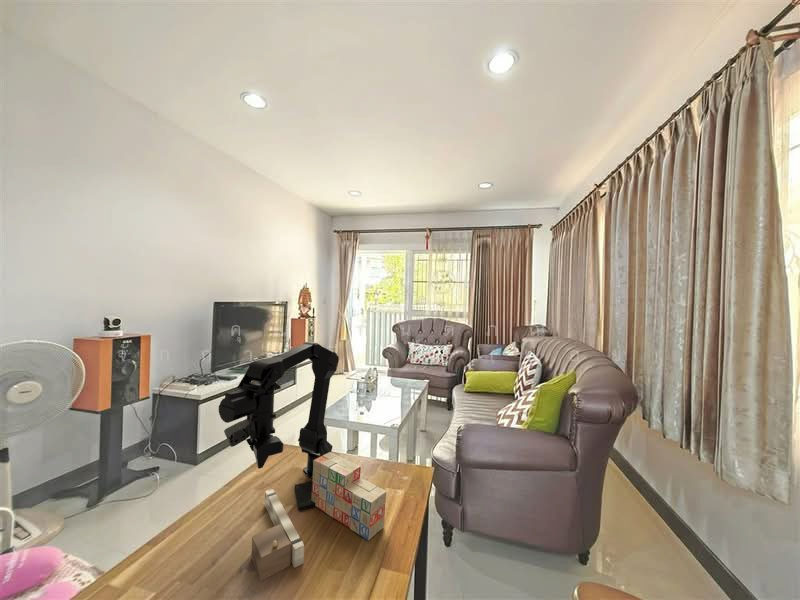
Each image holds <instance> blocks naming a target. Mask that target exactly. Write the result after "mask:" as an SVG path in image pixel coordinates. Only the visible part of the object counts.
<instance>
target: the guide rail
mask: <svg viewBox="0 0 800 600" xmlns="http://www.w3.org/2000/svg"><path fill="white" fill-rule="evenodd" d="M276 492H277V491H275V490H274V489H273V488H270V489H267V490H265V491H264V507H265V509H266V510H267V513H268V515H269V517H270V520H271V521H272V523H273V527H274V526H277V525H279V524H280V526H281V527H282V529H283V531H284V533H285V534H286V536H287V538H288V539H289V541H290V543H291V555H290V563H292V566H293V568H297V567H299V566H302V565H303V564H304V561H305V560H304V559H305V545H304V542H303V539H302V538H301V536H300V535H299V534H298V532H297V530H296V528H295V526H294V524H293V522H292V520H291V518H290V517H289V515H288V513H287V511H286V510H285V508H284V506H283V504H282V502H281V501H280V499H279V497H278V495H277V493H276Z"/></svg>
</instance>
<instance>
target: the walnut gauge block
mask: <svg viewBox="0 0 800 600" xmlns="http://www.w3.org/2000/svg"><path fill="white" fill-rule="evenodd" d="M250 553H251V556H250V557H251V560H252V563H253V565H254V567H255V570H256V572H257V574H258V577H259V579H260V582H261V581H263V580H265V579H267V578H269V577H270V576H273V575H275V574H277V573H278V572H280V571H282V570H284V569H286V568H288V567H290V566H291V560H290V555H291V543H290V541H289V539H288V538H287V536H286V534H285V533H284V531H283V529H282V527H281V526H280V524H279V525H277V526H274V525H273V526H272V527H270V528H268V529H266V530H263V531H260V532H258V533H256V534H254V535H252V536H251V552H250Z"/></svg>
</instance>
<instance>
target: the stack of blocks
mask: <svg viewBox="0 0 800 600" xmlns="http://www.w3.org/2000/svg"><path fill="white" fill-rule="evenodd" d="M311 481H313V483H312V499H311V501H313V502H314V503H315V507H317V508H318V509H320V510H321V511H323V513H325V514H327V515H328V516H330V517H332V518H333V519H335V520H337V521H338V522H340V523H341V524H343V525H345V526H346V527H347V528H349V529H350V530H351V531H353V532H354V533H356V534H357V535H359V536H361V538H364V539H365V540H366V541H370V539H372V538H373V537H374V536H375V535H377V534H378V533H379V532H381V530H382V529H383V528H385V527H384V526H385V515H386V511H385V510H386V501H387V491H386V490H384V488H381V487H380V486H378V485H375V484H374V483H371V482H370V481H368V480H366V479H364V478H361V465H358V464H356V463H354V462H352V461H350V460H348V459H345V458H343V457H342V456H340V455H337V454H335V453H333V452H332V451H331V452H329V453H327V454H325V455H323V456H321V457H319V458H317V459H315V460H314V461H313V478H311Z"/></svg>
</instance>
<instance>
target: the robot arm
mask: <svg viewBox="0 0 800 600" xmlns="http://www.w3.org/2000/svg"><path fill="white" fill-rule="evenodd" d="M307 360H309V361H311V370H312V372H313V375H314V381H313V382H314V383H313V388H312V393H311V394H312V395H311V401H310V406H309V407H310V408H309V414H308V421H307V423H306V424H305V425H304V427H301V428H300V430H299V435H298V436H299V437H298V438H297V442H298V446H299V448H300V449H301V452H302V453H305V454H307V460H306V461H307V462H306V463H307V465H306V466H305V467H303V468H302V469H303V471H304V473H305V474H306V476H307V477H308V478H309V479H312V478H313V461H314V460H315V459H317V458H319V457H321V456H323V455H325V454H327V453H329V452H332V451H333V445H332V444H331V443H330V442H329V441H328V440H327V439H328V431H327V428H326V425H325V423H324V422H325V417H326V411H327V404H328V403H327V402H328V398H329V397H328V396H329V391H330V390H329V388H330V383H331V378H332V377H333V375H334V374H336V371H337V368H338V365H339V361H340V357H339V355H338V353H336V352H335V351H332V350H329V349H327V348H325V347H324V346H323V345H321V344H320V343H318V342H312V341H306V342H303V344H301V345H299V346H296V347H294V348H293V349H291V350H289V351H286V352H284V353H282V354H279V355H278V356H275V357H274V356H273V357H267V358H260V359H257V360H253V361H251V363H250V364H249V366H248V367H247V368H248V369H246V372H245V373H244V375H243V377H242V378H241V380H240V382H239V383H238V385H237V387H236V389H237V390H234V391H228V392H225V393H224V398H223V399H222V400H221V401H220V403H219V405H218V414H219V416H220V419H221V420H222V421H223V422H224V423H225V424H226V423H227V424H228V423H231V422H234V421H237V420H239V419H242V418H245V417H246V418H245V419H243V420H240V421H239V422H236V423H234V424H232V425H231V426H228V427H227V428H225V429H224V430H223V431H224V435H225V437H226V439H227V441H228V444H229V446H230V447H231V448H233V447H236V446H238V444H241V443H242V442H244V441H246V443H247V444H248V445H249V448H250V450H251V451H252V452H253V455H254V457H255V462H256V466H257V469H259V470H260V469H263V468H264V466H265V463H266V462H267V460H268V458H269V456H274V455H278V454H281V453H283V452H284V443H283V441H282V440H281V439H280V438H279V437H278V436H277V435H273V434H276V428H275V427H274V419H275V418H276V416H277V415H276V414H277V413H276V412H274V407H275V391H278V390H280V389H282V386H281V385H280V384H278V383H277V382H278V381H280V379H281V378H282V377H283V376H284V374H285V373H286V372H287V371H288V370H290V369H292V368H294V367H295V366H297V365H300V364H301V363H304V362H305V361H307ZM253 383H254V384H253ZM255 383H256V384H255ZM258 384H259V385H258Z"/></svg>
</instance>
